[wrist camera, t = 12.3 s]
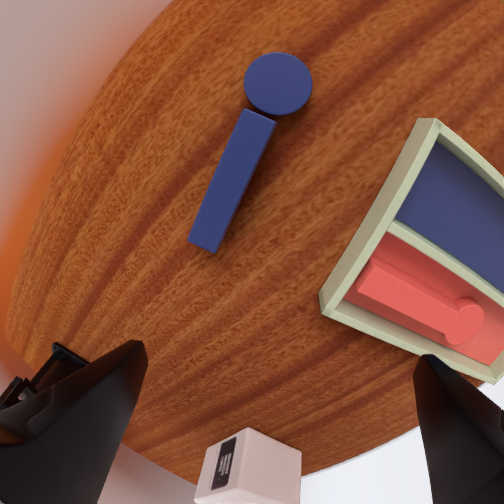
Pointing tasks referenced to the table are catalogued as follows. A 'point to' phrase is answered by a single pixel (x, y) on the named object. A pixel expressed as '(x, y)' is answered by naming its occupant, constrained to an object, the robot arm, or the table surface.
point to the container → (250, 471)
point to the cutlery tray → (432, 249)
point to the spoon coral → (420, 301)
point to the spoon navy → (250, 141)
